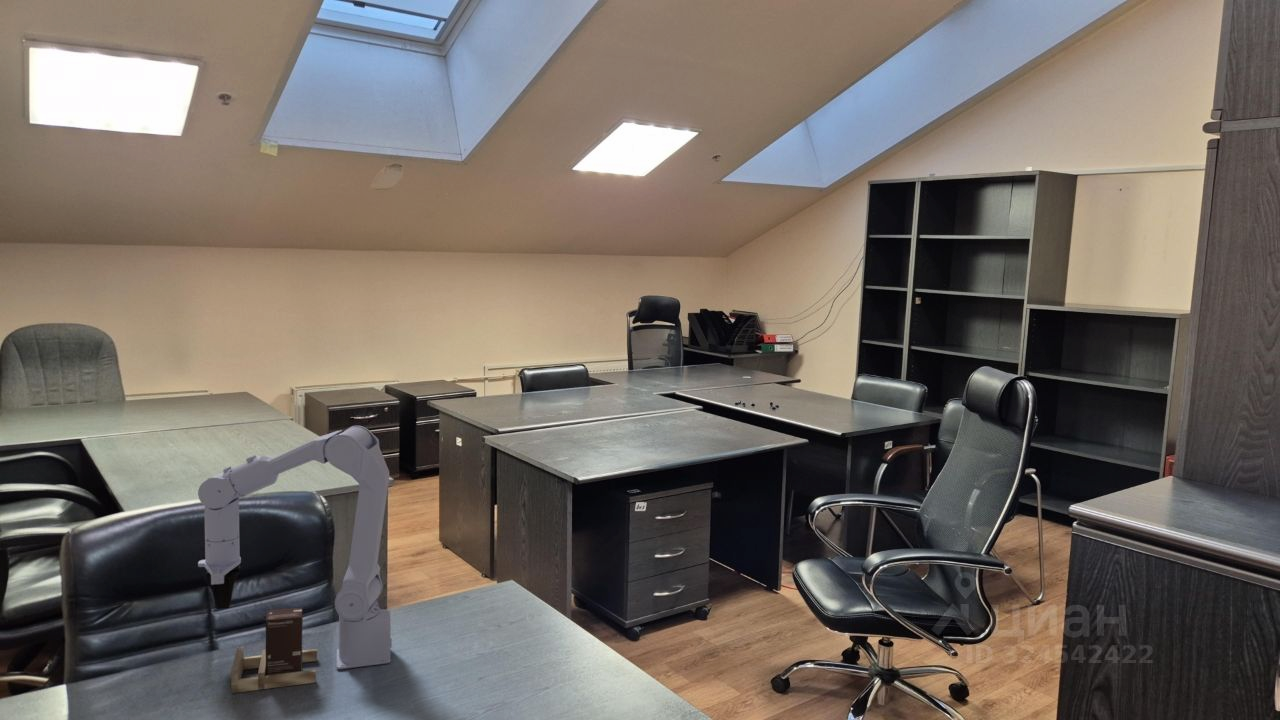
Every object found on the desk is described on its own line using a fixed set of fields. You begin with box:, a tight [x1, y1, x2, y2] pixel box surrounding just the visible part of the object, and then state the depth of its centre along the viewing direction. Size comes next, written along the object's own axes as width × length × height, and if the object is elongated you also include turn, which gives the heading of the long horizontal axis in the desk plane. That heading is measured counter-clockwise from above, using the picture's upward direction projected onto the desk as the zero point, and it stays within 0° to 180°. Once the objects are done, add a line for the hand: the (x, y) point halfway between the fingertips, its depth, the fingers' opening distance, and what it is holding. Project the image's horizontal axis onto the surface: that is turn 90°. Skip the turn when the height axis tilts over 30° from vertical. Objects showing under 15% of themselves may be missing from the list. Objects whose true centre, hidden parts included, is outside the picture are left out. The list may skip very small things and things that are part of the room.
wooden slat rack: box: [230, 646, 318, 694], centre depth 145 cm, size 14×9×4 cm
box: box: [265, 607, 304, 676], centre depth 145 cm, size 6×4×12 cm
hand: (223, 607), depth 151 cm, fingers closed
